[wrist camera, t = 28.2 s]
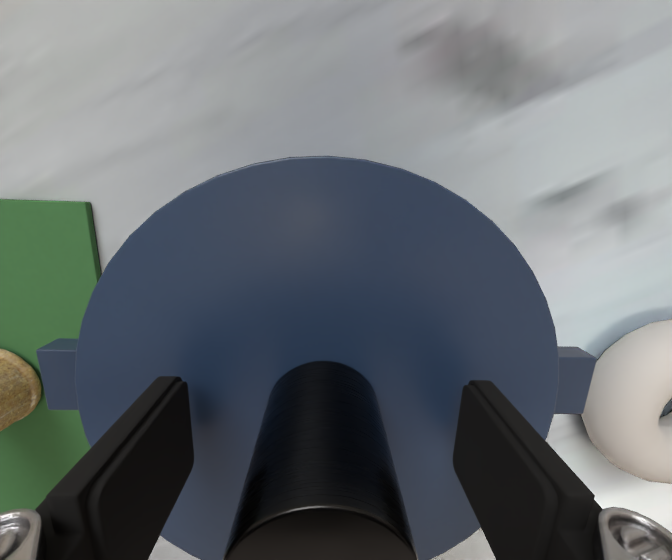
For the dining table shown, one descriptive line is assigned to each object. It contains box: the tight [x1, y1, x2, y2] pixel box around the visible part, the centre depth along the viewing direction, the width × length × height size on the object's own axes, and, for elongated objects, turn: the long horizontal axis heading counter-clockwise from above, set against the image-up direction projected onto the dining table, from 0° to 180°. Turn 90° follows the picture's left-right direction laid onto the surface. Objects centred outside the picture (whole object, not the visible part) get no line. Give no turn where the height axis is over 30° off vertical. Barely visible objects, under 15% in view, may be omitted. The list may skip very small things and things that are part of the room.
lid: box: [75, 156, 559, 560], centre depth 9 cm, size 16×16×6 cm
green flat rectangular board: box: [0, 199, 101, 513], centre depth 18 cm, size 20×12×1 cm, turn 178°
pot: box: [36, 338, 597, 414], centre depth 15 cm, size 15×20×7 cm
